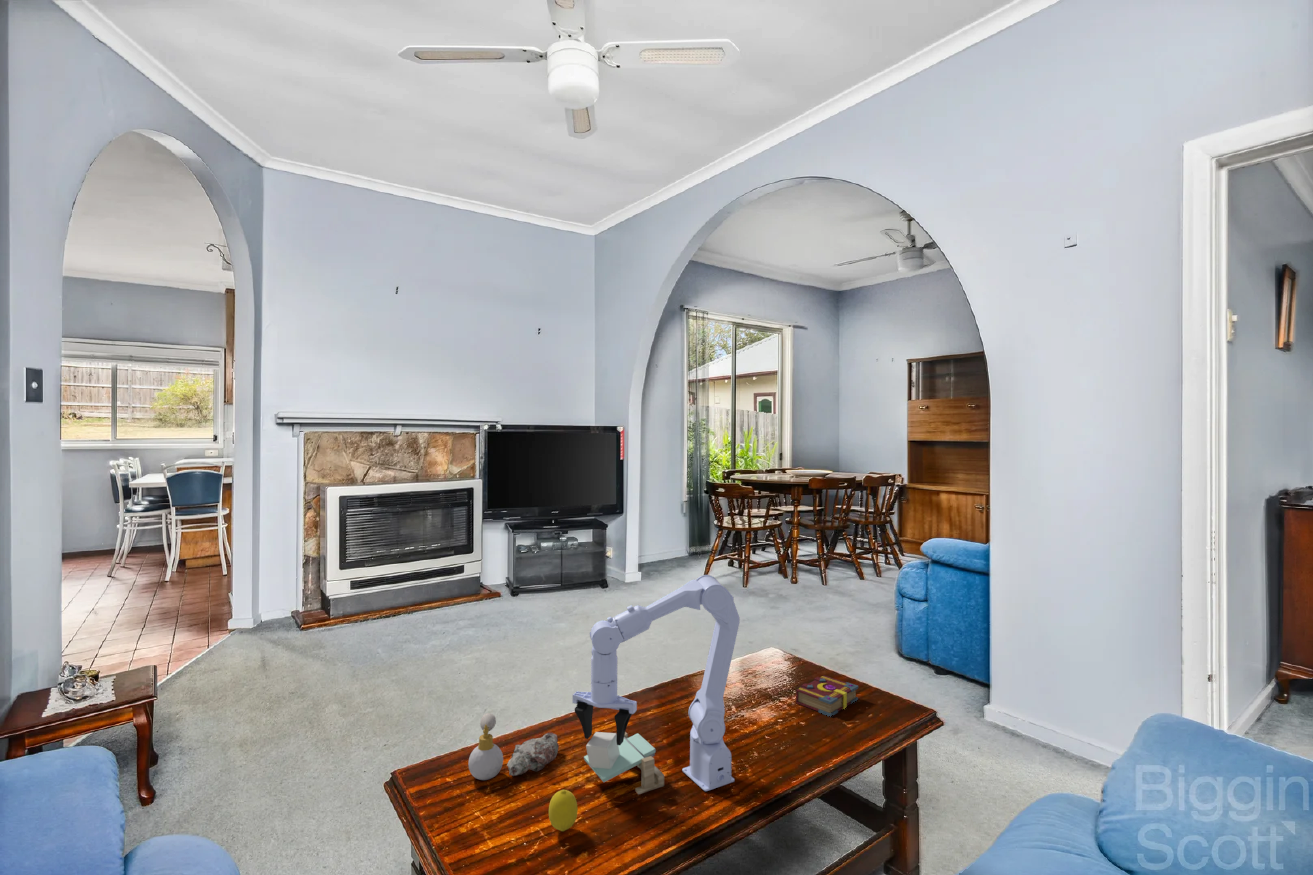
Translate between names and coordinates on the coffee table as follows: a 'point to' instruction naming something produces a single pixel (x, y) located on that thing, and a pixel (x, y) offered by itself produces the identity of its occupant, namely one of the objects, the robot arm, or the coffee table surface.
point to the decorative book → (826, 695)
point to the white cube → (602, 750)
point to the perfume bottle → (486, 752)
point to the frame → (649, 775)
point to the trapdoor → (626, 757)
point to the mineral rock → (533, 754)
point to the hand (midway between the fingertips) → (604, 739)
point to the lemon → (563, 810)
